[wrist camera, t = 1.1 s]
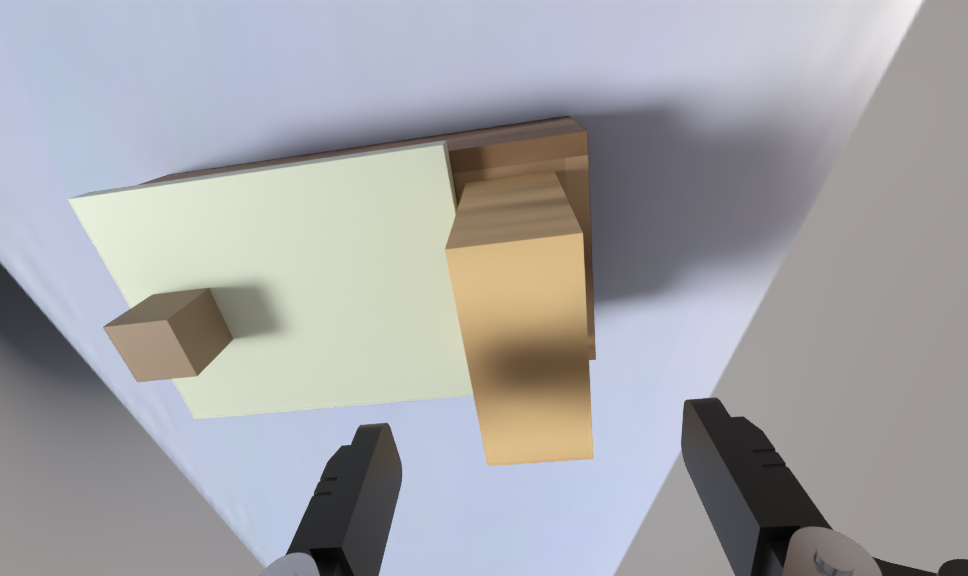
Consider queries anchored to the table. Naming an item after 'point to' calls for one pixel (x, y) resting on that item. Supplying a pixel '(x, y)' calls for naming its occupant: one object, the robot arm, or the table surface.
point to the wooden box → (496, 169)
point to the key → (523, 318)
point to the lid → (288, 282)
